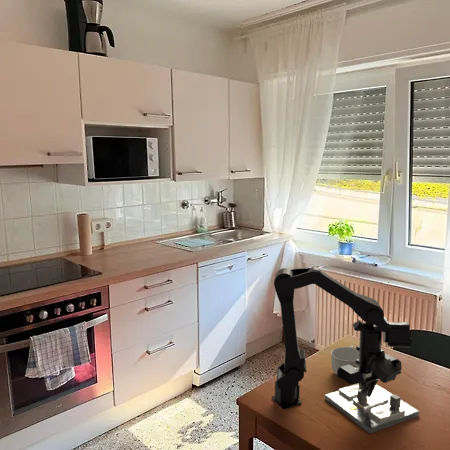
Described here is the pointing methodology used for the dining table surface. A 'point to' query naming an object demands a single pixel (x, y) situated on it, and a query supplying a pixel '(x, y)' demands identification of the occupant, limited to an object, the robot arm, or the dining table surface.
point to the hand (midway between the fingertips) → (368, 396)
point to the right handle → (395, 401)
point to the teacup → (344, 357)
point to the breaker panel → (370, 408)
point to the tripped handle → (362, 396)
